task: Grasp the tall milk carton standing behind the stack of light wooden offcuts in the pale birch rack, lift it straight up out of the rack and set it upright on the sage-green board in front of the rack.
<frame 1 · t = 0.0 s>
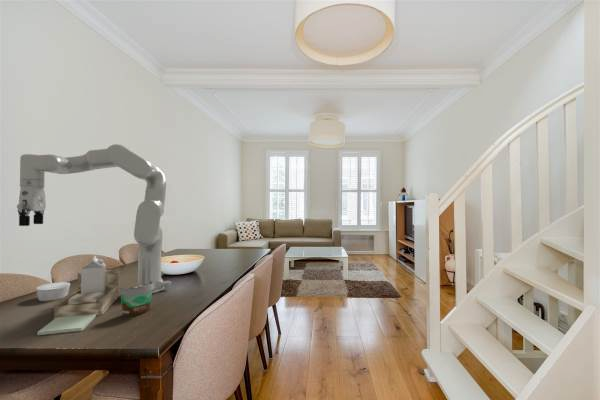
hand: (31, 224, 120), 31 cm above the table, tool pointing down, fingers open, 9 cm apart
birch rack: (89, 307, 111), on the table
milk carton: (93, 304, 115), resting in birch rack
offcut stack: (85, 311, 107), resting in birch rack
sage board: (68, 325, 95), on the table
ramekin: (53, 298, 122), on the table
food container: (140, 312, 107), on the table
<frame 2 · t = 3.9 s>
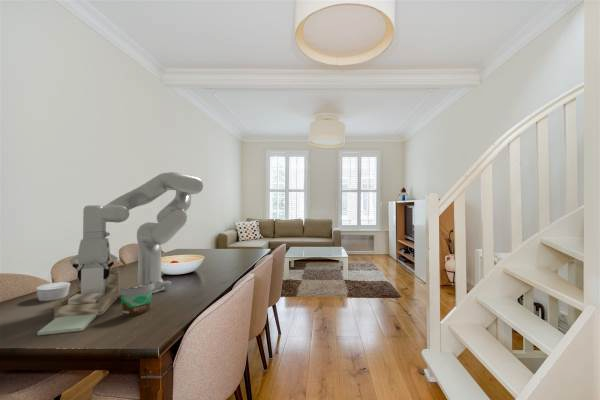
hand: (93, 278, 115), 10 cm above the table, tool pointing down, fingers closed on milk carton, 7 cm apart
milk carton: (93, 304, 115), resting in birch rack, touching gripper
everything else where it was.
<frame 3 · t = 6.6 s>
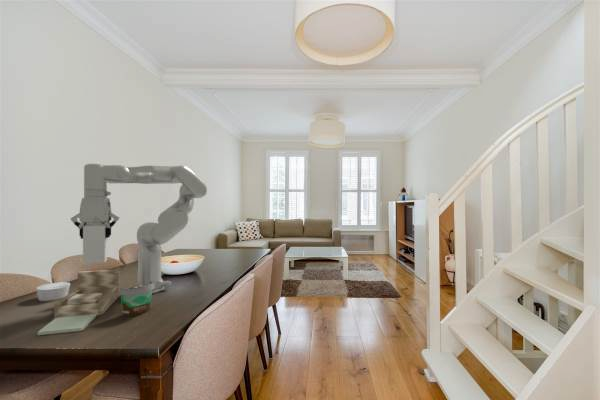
hand: (95, 237, 116), 27 cm above the table, tool pointing down, fingers closed on milk carton, 7 cm apart
milk carton: (95, 262, 116), point 16 cm above the table, touching gripper
everything else where it was.
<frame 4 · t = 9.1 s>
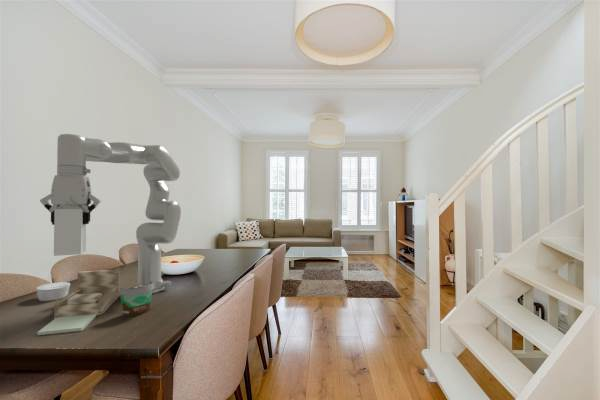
hand: (70, 223, 96), 34 cm above the table, tool pointing down, fingers closed on milk carton, 7 cm apart
milk carton: (70, 254, 95), point 24 cm above the table, touching gripper
everything else where it was.
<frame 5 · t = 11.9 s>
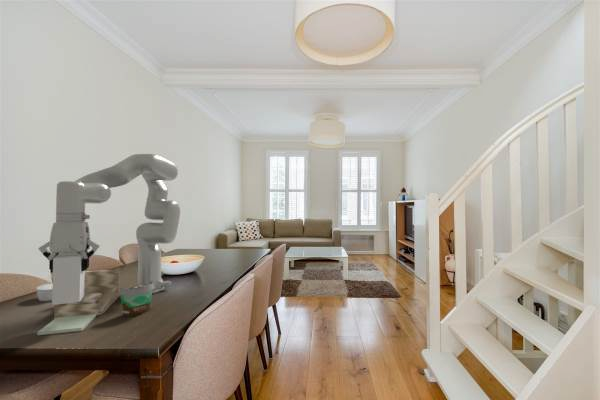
hand: (69, 270, 95), 18 cm above the table, tool pointing down, fingers closed on milk carton, 7 cm apart
milk carton: (68, 301, 95), point 8 cm above the table, touching gripper
everything else where it was.
when the fingers open (12 cm above the table, at t = 14.3 s): milk carton drops 1 cm, resting on sage board.
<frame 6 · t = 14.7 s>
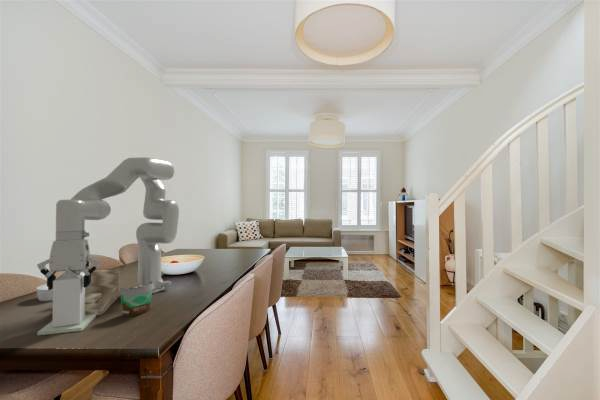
hand: (69, 287, 95), 13 cm above the table, tool pointing down, fingers open, 9 cm apart
milk carton: (69, 322, 95), point 1 cm above the table, touching sage board
everything else where it was.
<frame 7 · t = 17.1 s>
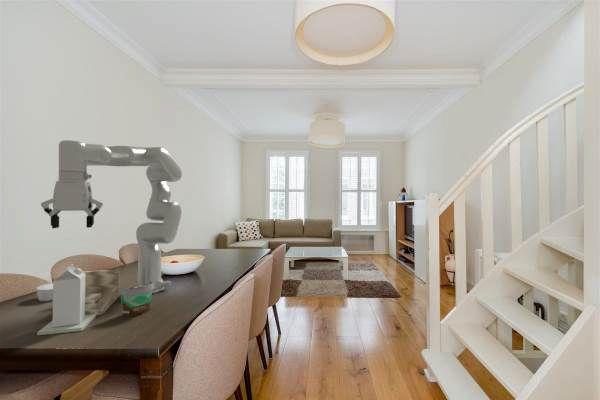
hand: (72, 227, 97), 32 cm above the table, tool pointing down, fingers open, 9 cm apart
nothing on the table moved.
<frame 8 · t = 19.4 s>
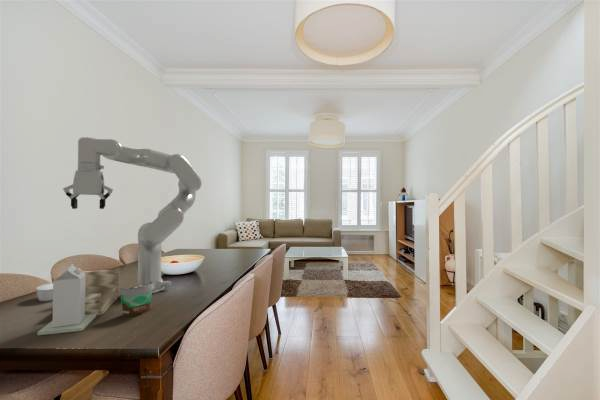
hand: (88, 208, 119), 38 cm above the table, tool pointing down, fingers open, 9 cm apart
nothing on the table moved.
at the end: milk carton inside the target area on the sage board (0.2 cm from its centre), point 0.8 cm above the sage board's base; milk carton tilted 0°; the gripper is holding nothing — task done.
